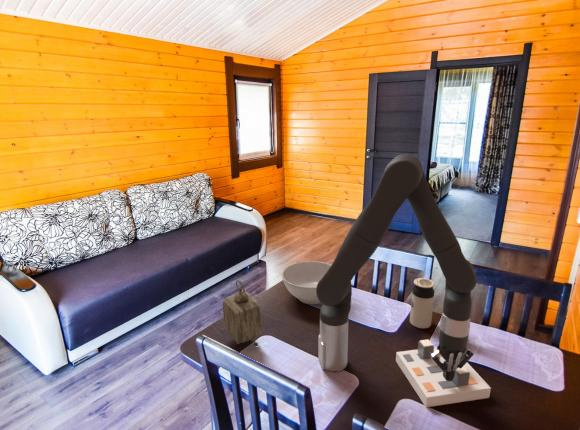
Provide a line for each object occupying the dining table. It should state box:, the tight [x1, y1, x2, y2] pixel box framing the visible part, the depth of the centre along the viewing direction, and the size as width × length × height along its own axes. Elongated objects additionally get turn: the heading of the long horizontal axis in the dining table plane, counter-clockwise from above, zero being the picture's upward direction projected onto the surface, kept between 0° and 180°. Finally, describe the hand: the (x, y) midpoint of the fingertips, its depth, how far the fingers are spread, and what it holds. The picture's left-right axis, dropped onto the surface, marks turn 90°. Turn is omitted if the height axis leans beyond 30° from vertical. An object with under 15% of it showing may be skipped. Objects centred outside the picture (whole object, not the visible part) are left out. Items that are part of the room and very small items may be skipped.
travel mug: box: [409, 277, 435, 329], centre depth 140 cm, size 8×8×18 cm
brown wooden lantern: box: [222, 279, 263, 347], centre depth 130 cm, size 14×9×25 cm, turn 32°
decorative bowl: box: [281, 260, 332, 305], centre depth 162 cm, size 27×27×12 cm
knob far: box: [417, 339, 435, 359], centre depth 118 cm, size 4×4×5 cm
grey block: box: [453, 366, 470, 387], centre depth 106 cm, size 4×4×5 cm
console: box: [395, 346, 492, 408], centre depth 113 cm, size 20×20×4 cm
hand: (448, 379), depth 105 cm, fingers closed
